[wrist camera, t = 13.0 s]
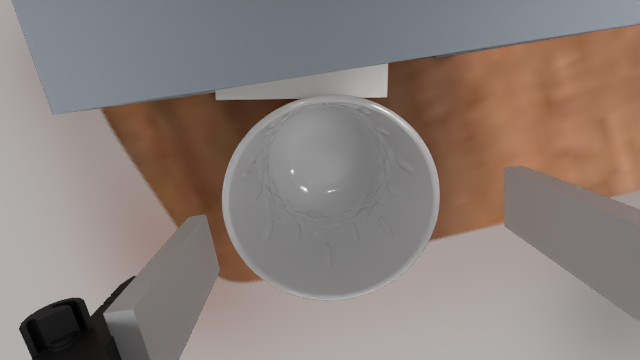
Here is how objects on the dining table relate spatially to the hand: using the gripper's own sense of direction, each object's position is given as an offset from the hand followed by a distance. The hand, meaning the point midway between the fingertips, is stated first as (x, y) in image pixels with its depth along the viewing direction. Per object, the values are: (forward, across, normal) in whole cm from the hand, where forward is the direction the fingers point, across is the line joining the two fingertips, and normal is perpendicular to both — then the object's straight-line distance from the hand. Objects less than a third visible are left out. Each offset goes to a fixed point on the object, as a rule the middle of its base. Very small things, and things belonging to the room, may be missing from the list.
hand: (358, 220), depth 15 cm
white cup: (+8, -1, +2) cm, 8 cm away
